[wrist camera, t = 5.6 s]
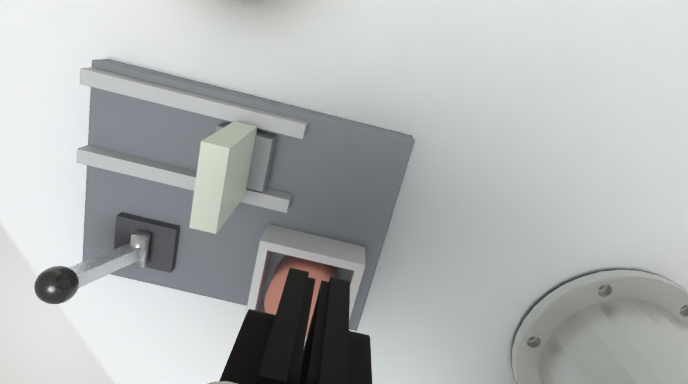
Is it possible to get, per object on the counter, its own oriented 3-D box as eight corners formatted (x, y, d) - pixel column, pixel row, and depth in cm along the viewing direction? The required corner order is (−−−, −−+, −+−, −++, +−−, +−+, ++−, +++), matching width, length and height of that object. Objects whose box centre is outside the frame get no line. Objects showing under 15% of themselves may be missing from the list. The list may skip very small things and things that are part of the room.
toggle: (159, 237, 25) (52, 282, 19) (156, 266, 26) (51, 318, 20) (135, 226, 26) (25, 267, 20) (133, 255, 26) (25, 302, 21)
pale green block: (278, 126, 24) (251, 153, 18) (265, 193, 25) (235, 238, 19) (224, 113, 23) (179, 135, 18) (214, 180, 25) (169, 222, 19)
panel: (411, 135, 25) (419, 150, 22) (356, 317, 30) (356, 354, 26) (107, 59, 25) (64, 61, 21) (95, 256, 29) (58, 286, 25)
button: (345, 258, 26) (343, 284, 23) (330, 312, 28) (326, 343, 25) (281, 243, 26) (271, 267, 23) (269, 298, 27) (258, 328, 25)
